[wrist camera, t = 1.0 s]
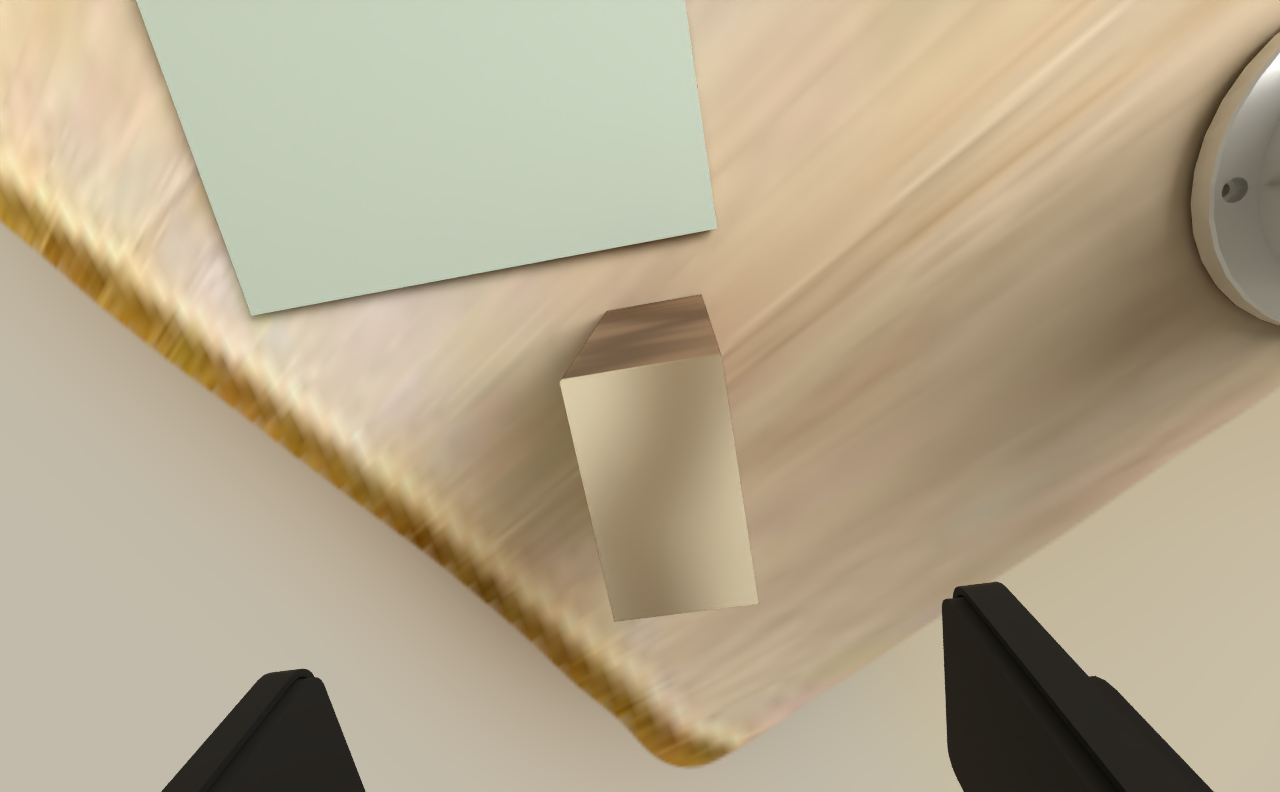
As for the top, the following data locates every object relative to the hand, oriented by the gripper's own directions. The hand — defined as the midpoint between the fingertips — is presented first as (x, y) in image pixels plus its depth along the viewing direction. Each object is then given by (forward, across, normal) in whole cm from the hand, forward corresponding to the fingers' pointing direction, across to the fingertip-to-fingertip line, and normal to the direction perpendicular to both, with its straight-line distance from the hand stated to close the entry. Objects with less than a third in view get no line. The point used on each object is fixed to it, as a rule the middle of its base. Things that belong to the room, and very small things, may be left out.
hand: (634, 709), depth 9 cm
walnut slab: (+18, -1, 0) cm, 18 cm away
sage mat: (+18, +6, -14) cm, 24 cm away
